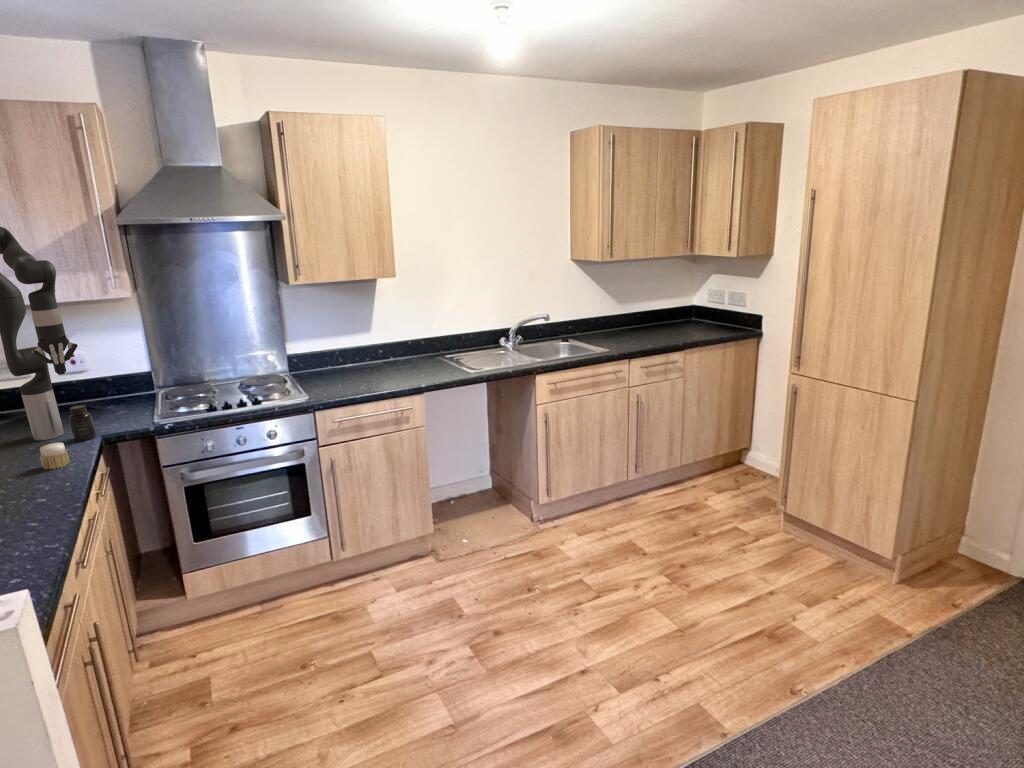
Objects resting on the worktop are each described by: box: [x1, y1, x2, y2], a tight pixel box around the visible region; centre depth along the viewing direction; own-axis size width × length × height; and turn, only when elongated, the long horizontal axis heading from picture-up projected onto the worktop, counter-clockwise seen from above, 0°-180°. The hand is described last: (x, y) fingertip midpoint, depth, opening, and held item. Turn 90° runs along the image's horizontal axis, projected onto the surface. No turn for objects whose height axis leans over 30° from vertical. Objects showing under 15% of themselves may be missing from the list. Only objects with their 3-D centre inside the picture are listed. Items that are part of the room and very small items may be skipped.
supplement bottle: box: [68, 404, 97, 442], centre depth 222 cm, size 7×7×12 cm
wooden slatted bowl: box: [39, 449, 71, 470], centre depth 199 cm, size 7×7×4 cm
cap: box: [39, 442, 67, 457], centre depth 199 cm, size 6×6×5 cm
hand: (61, 374), depth 206 cm, fingers closed
